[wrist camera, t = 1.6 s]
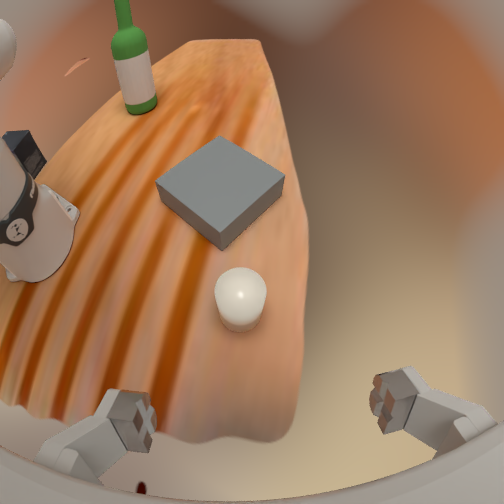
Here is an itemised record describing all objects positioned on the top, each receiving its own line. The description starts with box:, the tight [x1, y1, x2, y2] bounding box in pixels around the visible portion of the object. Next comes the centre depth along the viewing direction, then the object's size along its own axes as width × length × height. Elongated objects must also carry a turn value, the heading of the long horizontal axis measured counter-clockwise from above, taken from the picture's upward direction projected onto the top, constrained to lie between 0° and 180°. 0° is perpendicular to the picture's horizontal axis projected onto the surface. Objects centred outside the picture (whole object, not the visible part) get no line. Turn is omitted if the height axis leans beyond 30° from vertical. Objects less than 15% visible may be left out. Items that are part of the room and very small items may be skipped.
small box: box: [2, 130, 47, 180], centre depth 45 cm, size 11×6×10 cm, turn 77°
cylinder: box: [215, 267, 266, 332], centre depth 34 cm, size 6×6×8 cm
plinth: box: [155, 136, 285, 251], centre depth 44 cm, size 14×14×5 cm
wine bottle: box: [111, 0, 157, 114], centre depth 46 cm, size 8×8×30 cm
